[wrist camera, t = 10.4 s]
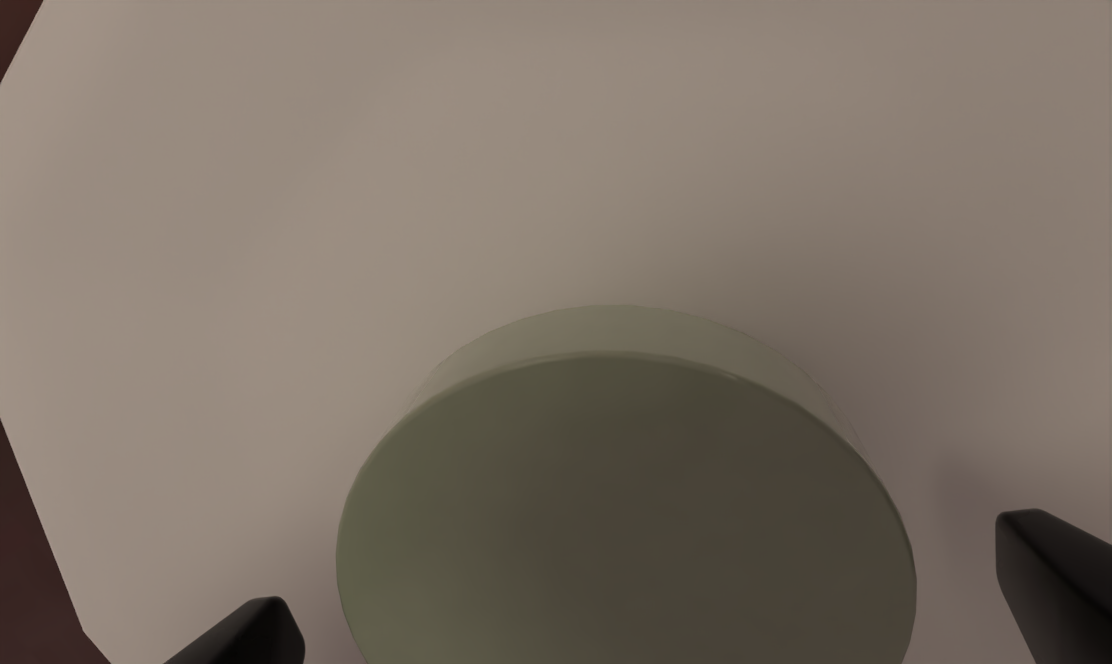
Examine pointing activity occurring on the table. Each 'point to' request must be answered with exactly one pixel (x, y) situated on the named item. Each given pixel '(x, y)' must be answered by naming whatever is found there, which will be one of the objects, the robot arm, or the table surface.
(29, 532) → the table surface
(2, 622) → the table surface
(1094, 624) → the robot arm
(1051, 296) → the plate
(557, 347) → the green cylinder
